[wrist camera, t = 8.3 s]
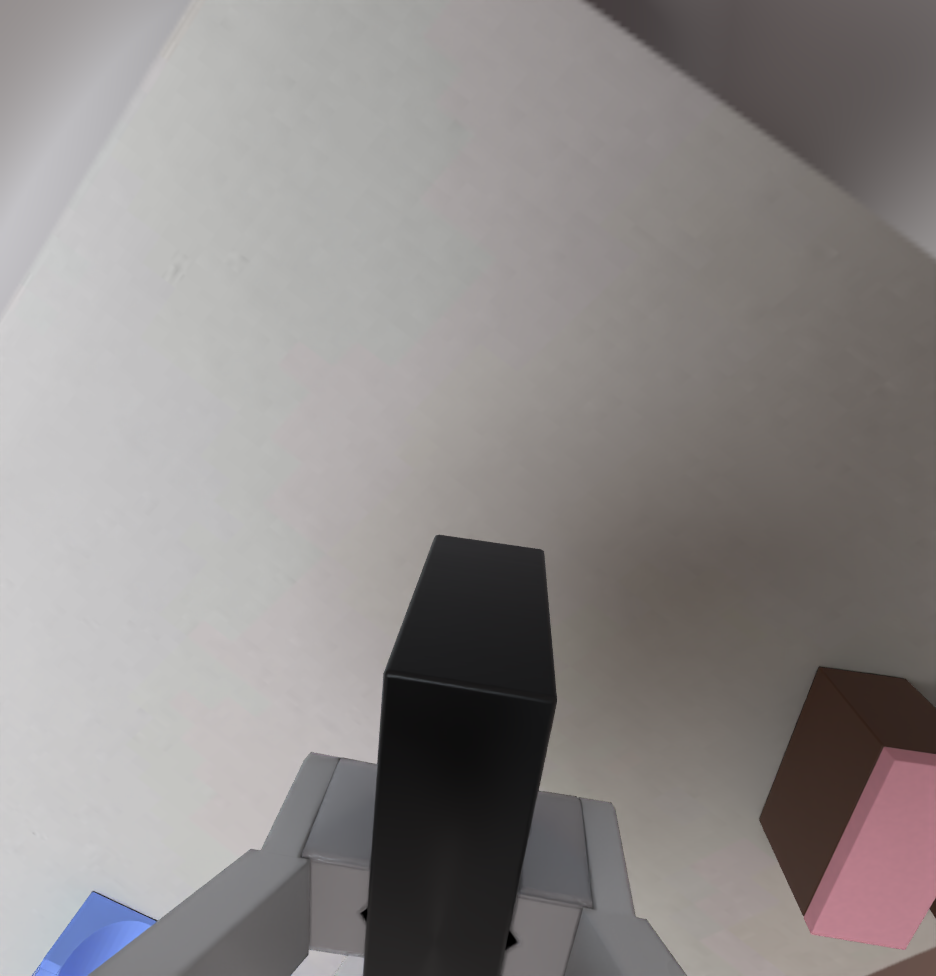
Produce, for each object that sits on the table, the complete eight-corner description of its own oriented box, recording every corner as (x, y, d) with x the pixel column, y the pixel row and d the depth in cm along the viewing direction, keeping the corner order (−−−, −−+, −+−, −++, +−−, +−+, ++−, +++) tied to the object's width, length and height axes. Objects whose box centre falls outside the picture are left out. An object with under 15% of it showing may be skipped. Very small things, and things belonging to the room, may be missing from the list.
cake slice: (818, 665, 25) (895, 760, 20) (906, 678, 25) (1007, 777, 20) (758, 819, 28) (810, 934, 23) (835, 832, 28) (905, 950, 23)
